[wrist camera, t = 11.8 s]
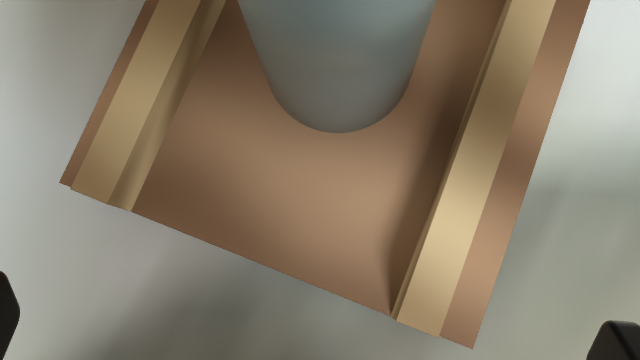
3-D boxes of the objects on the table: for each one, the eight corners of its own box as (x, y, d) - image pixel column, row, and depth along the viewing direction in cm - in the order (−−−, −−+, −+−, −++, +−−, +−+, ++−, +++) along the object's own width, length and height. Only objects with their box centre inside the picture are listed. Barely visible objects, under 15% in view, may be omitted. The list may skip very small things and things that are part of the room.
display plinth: (458, 341, 18) (488, 358, 15) (87, 192, 20) (27, 171, 16) (566, 27, 20) (617, -31, 16) (218, -90, 22) (192, -167, 18)
